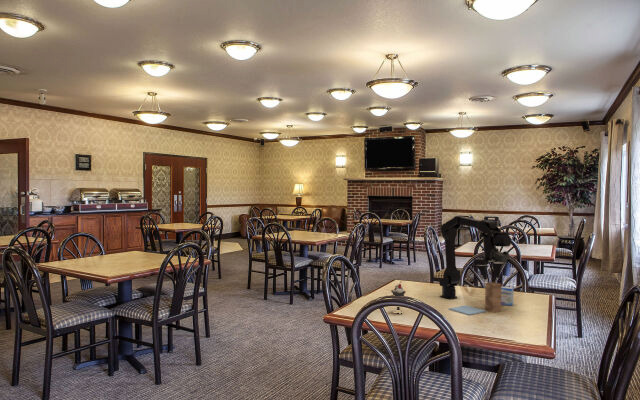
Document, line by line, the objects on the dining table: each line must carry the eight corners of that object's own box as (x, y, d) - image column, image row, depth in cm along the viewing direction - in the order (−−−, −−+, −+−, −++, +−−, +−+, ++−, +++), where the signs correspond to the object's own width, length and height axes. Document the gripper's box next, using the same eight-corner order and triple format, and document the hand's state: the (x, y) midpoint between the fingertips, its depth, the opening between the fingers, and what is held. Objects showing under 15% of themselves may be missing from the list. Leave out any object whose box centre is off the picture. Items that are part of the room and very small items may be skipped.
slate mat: (448, 309, 221) (448, 308, 221) (465, 306, 227) (465, 305, 227) (469, 315, 211) (469, 314, 211) (486, 311, 217) (486, 310, 217)
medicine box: (495, 304, 233) (496, 287, 232) (496, 302, 237) (497, 285, 236) (512, 306, 229) (512, 288, 229) (513, 304, 233) (513, 287, 233)
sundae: (402, 315, 209) (402, 282, 209) (388, 313, 213) (389, 281, 213) (407, 312, 215) (408, 280, 215) (394, 310, 219) (394, 278, 218)
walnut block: (485, 309, 221) (485, 282, 221) (492, 308, 223) (493, 282, 223) (493, 312, 217) (493, 284, 216) (500, 311, 219) (501, 283, 219)
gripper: (491, 247, 213) (493, 281, 212) (516, 245, 223) (518, 278, 222) (471, 247, 222) (473, 280, 221) (496, 245, 232) (498, 276, 231)
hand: (491, 278), depth 224 cm, fingers open, 9 cm apart
